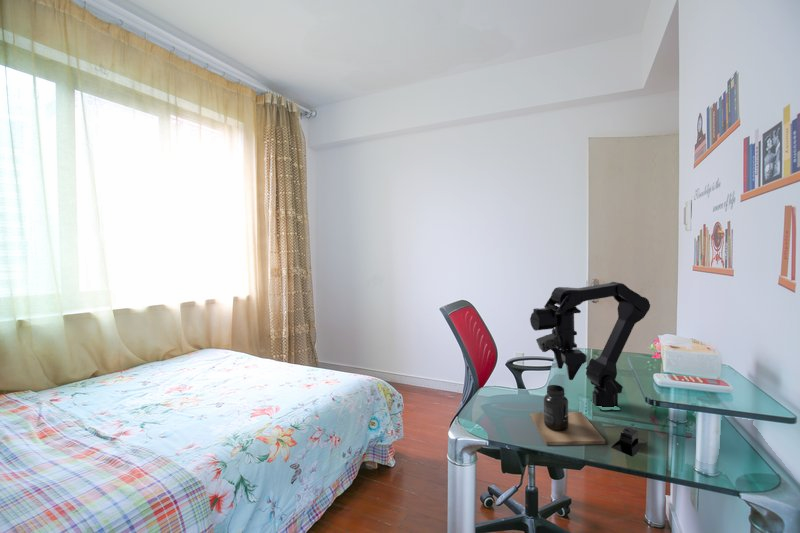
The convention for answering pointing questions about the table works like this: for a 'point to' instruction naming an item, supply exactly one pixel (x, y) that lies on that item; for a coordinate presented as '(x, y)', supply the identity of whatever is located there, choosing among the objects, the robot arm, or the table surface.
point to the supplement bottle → (555, 408)
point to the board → (569, 431)
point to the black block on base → (629, 442)
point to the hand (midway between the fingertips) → (565, 373)
